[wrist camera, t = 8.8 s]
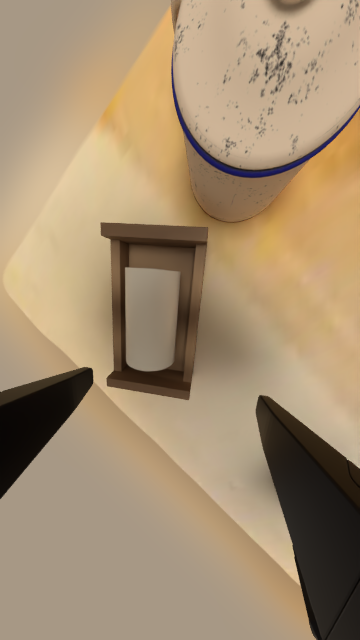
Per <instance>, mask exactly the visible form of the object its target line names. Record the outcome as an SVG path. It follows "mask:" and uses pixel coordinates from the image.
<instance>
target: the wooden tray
mask: <svg viewBox="0 0 360 640" xmlns="http://www.w3.org/2000/svg"><path fill="white" fill-rule="evenodd" d="M101 236H104V237H106V238H109V239H111V273H112V312H113V351H114V371H113V372H112V373H111V374H110V375H109V376H108V377H107V386H109V387H115V388H121V389H127V390H133V391H139V392H144V393H150V394H156V395H162V396H168V397H174V398H180V399H185V400H189V396H190V389H191V381H192V373H193V364H194V355H195V346H196V337H197V328H198V319H199V310H200V301H201V292H202V283H203V274H204V265H205V256H206V248H207V238H208V227H187V226H166V225H144V224H122V223H101ZM125 267H129V268H155V269H164V270H169V271H178V272H180V286H179V300H178V315H177V329H176V343H175V357H174V362H173V364H172V365H171V366H169V367H168V368H165V369H163V370H158V371H140V370H136V369H134V368H132V367H130V366H129V365H128V364H127V362H126V311H125Z"/></svg>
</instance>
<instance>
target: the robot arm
mask: <svg viewBox="0 0 360 640" xmlns="http://www.w3.org/2000/svg"><path fill="white" fill-rule="evenodd" d="M92 384H93V370H92V368H88V367H83V368H80V369H76V370H73V371H69V372H66V373H63V374H59V375H56V376H52V377H49V378H45V379H42V380H39V381H35V382H32V383H29V384H25V385H22V386H18V387H15V388H11V389H8V390H5V391H2V392H0V499H1V498H2V497H3V495H4V494H5V493H6V492H7V490H8V489H9V488H10V487H11V486H12V485H13V483H14V482H15V481H16V480H17V478H18V477H19V476H20V475H21V474H22V473H23V471H24V470H25V469H26V468H27V467H28V465H29V464H30V463H31V462H32V461H33V460H34V458H35V457H36V456H37V455H38V454H39V452H40V451H41V450H42V449H43V447H44V446H45V445H46V444H47V443H48V442H49V440H50V439H51V438H52V437H53V436H54V434H55V433H56V432H57V431H58V430H59V428H60V427H61V426H62V425H63V424H64V422H65V421H66V420H67V419H68V418H69V416H70V415H71V414H72V413H73V411H74V410H75V409H76V408H77V406H78V405H79V403H80V402H81V400H82V399H83V397H84V396H85V395H86V393H87V392H88V390H89V389H90V388H91V386H92ZM256 417H257V422H258V427H259V432H260V437H261V442H262V446H263V450H264V453H265V457H266V460H267V463H268V466H269V469H270V473H271V476H272V479H273V482H274V486H275V489H276V492H277V495H278V498H279V502H280V505H281V508H282V511H283V514H284V518H285V521H286V524H287V527H288V531H289V534H290V537H291V540H292V543H293V545H292V546H293V550H294V555H295V557H294V558H295V562H296V567H297V571H298V575H299V580H300V584H301V588H302V592H303V597H304V601H305V605H306V610H307V614H308V618H309V624H310V628H311V631H312V633H313V635H314V637H315V638H316V640H360V469H359V468H358V467H357V466H356V465H354V464H353V463H352V462H351V461H349V460H347V459H346V457H344V456H343V455H342V454H340V453H339V452H338V451H337V450H335V449H334V448H333V447H332V446H330V445H329V444H328V443H327V442H325V441H324V440H323V439H322V438H320V437H319V436H318V435H317V434H315V433H314V432H313V431H311V430H310V429H309V428H308V427H306V426H305V425H304V424H303V423H301V422H300V421H299V420H298V419H296V418H295V417H294V416H293V415H291V414H290V413H289V412H288V411H286V410H285V409H284V408H282V407H281V406H280V405H279V404H277V403H276V402H275V401H274V400H272V399H271V398H270V397H268V396H263V395H260V396H259V397H258V402H257V406H256Z"/></svg>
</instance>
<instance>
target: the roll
mask: <svg viewBox="0 0 360 640" xmlns="http://www.w3.org/2000/svg"><path fill="white" fill-rule="evenodd" d="M179 286H180V272H178V271H169V270H164V269H155V268H129V267H125V311H126V362H127V364H128V365H129V366H130V367H132V368H134V369H136V370H140V371H158V370H163V369H165V368H168V367H169V366H171V365H172V364H173V362H174V357H175V343H176V329H177V315H178V300H179Z"/></svg>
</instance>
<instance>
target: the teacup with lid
mask: <svg viewBox="0 0 360 640" xmlns="http://www.w3.org/2000/svg"><path fill="white" fill-rule="evenodd" d="M171 11H172V21H173V28H174V34H175V35H174V45H173V53H172V72H171V74H172V89H173V97H174V103H175V107H176V111H177V115H178V118H179V121H180V124H181V126H182V129H183V132H184V139H185V145H186V152H187V159H188V166H189V173H190V180H191V186H192V190H193V193H194V196H195V198H196V200H197V202H198V203H199V205H200V206H201V207H202V209H203V210H204V211H205V212H206V213H208V214H209V215H210V216H212V217H214V218H216V219H218V220H221V221H226V222H238V221H243V220H246V219H249V218H251V217H253V216H255V215H257V214H258V213H260V212H261V211H263V210H264V209H265V208H266V207H267V206H269V205H270V203H271V202H272V201H273V200H274V199H275V198H276V197H277V196H278V195H279V193H280V192H281V191H282V190H283V189H284V188H285V187H286V185H287V184H288V183H289V182H290V181H291V180H292V179H293V178H294V176H295V175H296V174H297V173H298V172H299V171H300V170H301V169H302V167H303V166H304V165H305V164H306V163H307V162H308V161H309V160H310V158H312V157H313V156H315V155H316V154H317V153H319V152H320V151H321V150H322V149H324V148H325V147H326V146H327V145H328V144H329V143H330V142H331V141H333V140H334V139H335V138H336V137H337V136H338V134H339V133H340V132H341V131H342V130H343V129H344V128H345V127H346V126H347V124H348V123H349V122H350V120H351V119H352V118H353V117H354V115H355V114H356V112H357V111H358V110H359V108H360V0H171Z"/></svg>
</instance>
